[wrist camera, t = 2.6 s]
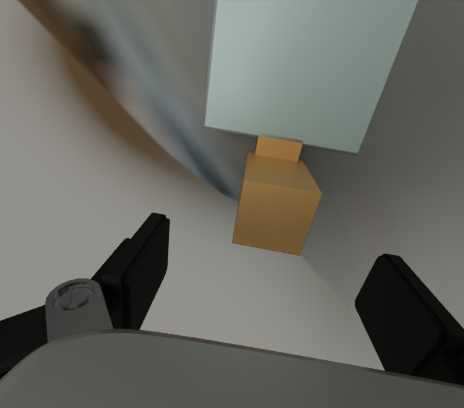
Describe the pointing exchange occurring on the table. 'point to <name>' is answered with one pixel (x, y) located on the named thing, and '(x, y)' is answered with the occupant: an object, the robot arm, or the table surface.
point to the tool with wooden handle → (297, 97)
